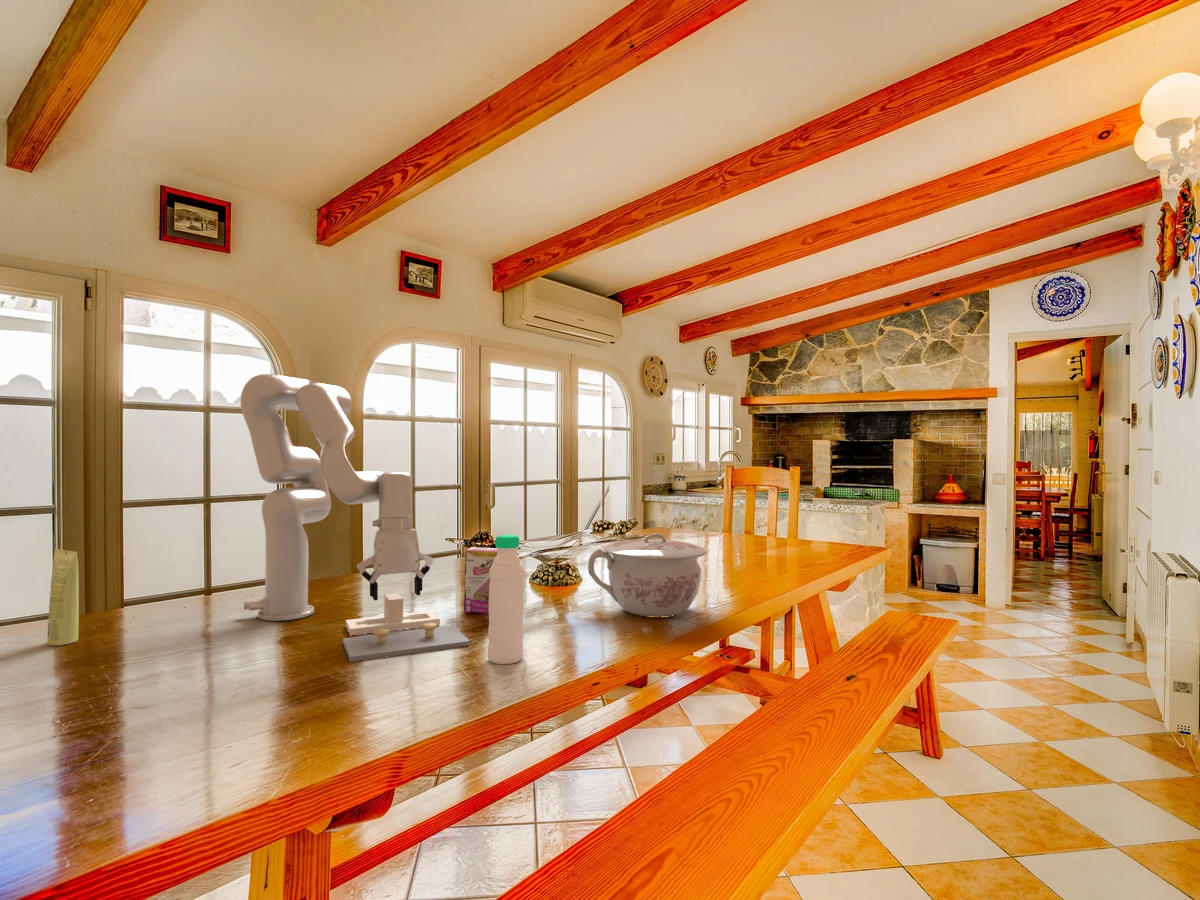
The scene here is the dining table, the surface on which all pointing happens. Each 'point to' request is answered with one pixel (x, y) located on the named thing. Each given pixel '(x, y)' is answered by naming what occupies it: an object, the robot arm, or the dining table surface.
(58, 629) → the tube
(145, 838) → the dining table surface
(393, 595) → the pink tray with post
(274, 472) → the robot arm
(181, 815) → the dining table surface
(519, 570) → the water bottle
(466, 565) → the candy bar box
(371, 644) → the board
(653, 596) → the chamber pot
